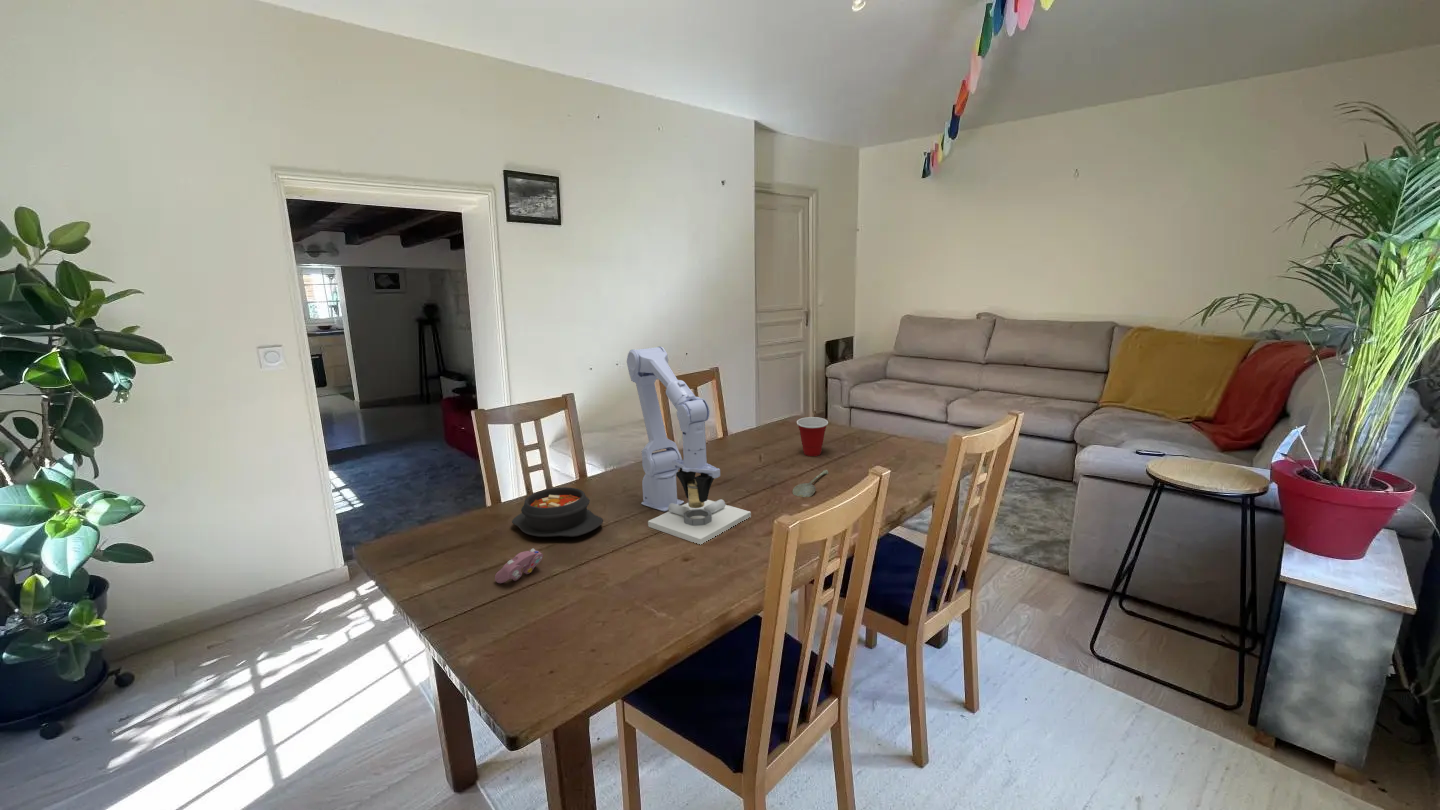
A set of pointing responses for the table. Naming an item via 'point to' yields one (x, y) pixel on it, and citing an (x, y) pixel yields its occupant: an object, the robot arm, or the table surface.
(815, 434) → the plastic cup
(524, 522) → the casserole
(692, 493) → the salt shaker
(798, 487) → the soupspoon
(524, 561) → the video game controller
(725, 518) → the shaft base
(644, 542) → the table surface
